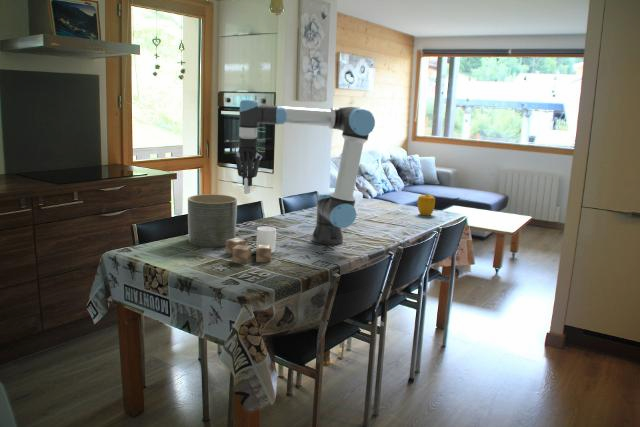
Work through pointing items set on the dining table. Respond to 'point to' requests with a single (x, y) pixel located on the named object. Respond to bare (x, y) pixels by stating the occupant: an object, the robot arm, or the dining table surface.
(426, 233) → the dining table surface
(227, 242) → the labelled cube a
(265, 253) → the labelled cube
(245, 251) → the plain cube
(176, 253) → the dining table surface
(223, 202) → the planter
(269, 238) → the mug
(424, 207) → the yellow bell pepper
